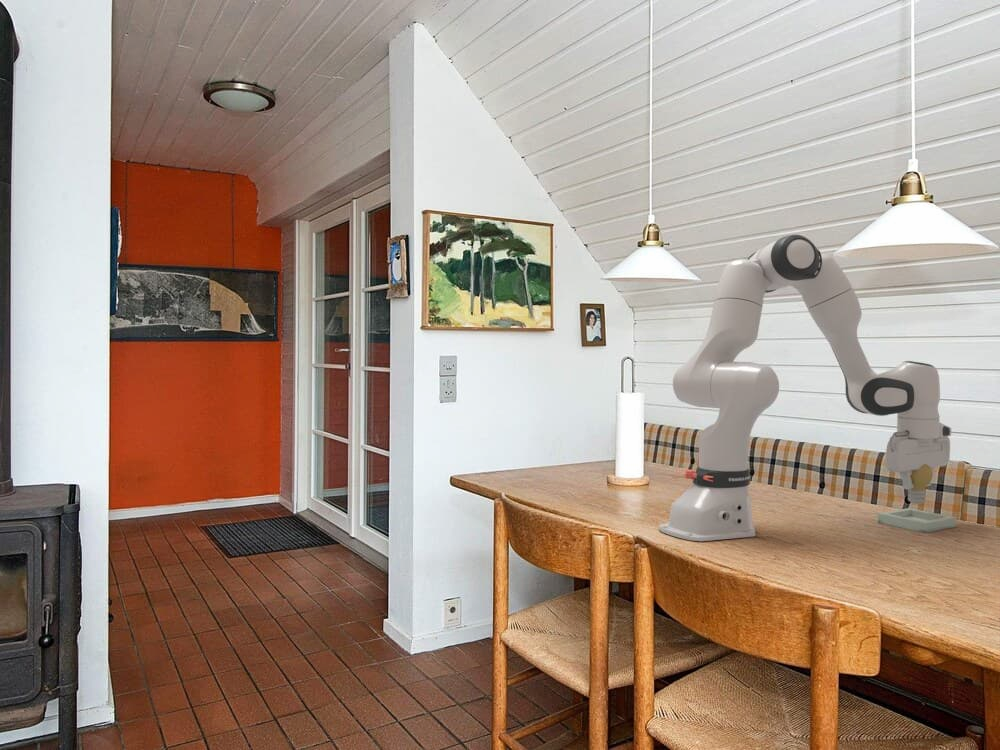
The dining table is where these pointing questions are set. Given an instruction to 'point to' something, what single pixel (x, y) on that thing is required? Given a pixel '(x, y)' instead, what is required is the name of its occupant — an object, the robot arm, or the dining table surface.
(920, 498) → the light bulb
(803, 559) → the dining table surface
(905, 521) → the tray
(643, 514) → the dining table surface
